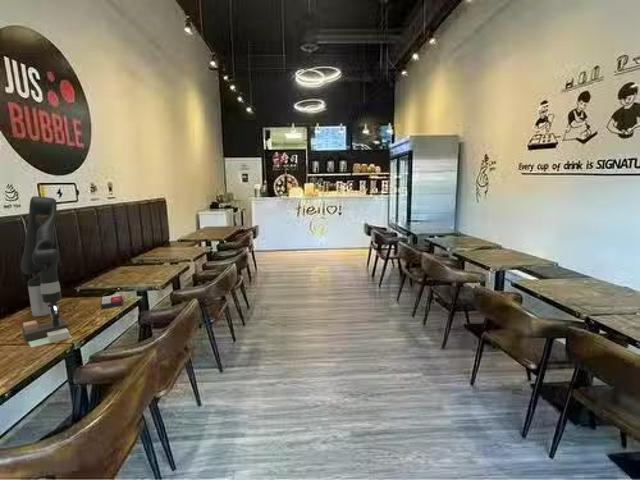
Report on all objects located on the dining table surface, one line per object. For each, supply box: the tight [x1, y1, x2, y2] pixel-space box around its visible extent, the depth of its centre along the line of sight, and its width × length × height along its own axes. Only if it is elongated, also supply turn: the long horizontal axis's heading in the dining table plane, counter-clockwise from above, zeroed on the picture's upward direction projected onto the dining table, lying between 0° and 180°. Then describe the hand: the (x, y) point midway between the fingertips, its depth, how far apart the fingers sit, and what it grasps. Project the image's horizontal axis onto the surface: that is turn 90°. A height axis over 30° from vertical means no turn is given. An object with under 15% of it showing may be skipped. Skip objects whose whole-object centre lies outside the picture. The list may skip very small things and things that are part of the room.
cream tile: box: [47, 328, 71, 343], centre depth 190 cm, size 6×8×3 cm
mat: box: [27, 334, 73, 349], centre depth 189 cm, size 9×16×1 cm, turn 132°
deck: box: [21, 318, 70, 343], centre depth 197 cm, size 12×17×4 cm
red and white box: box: [100, 293, 123, 310], centre depth 242 cm, size 11×4×15 cm
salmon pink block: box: [22, 320, 39, 332], centre depth 193 cm, size 6×5×3 cm
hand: (56, 326), depth 193 cm, fingers closed
